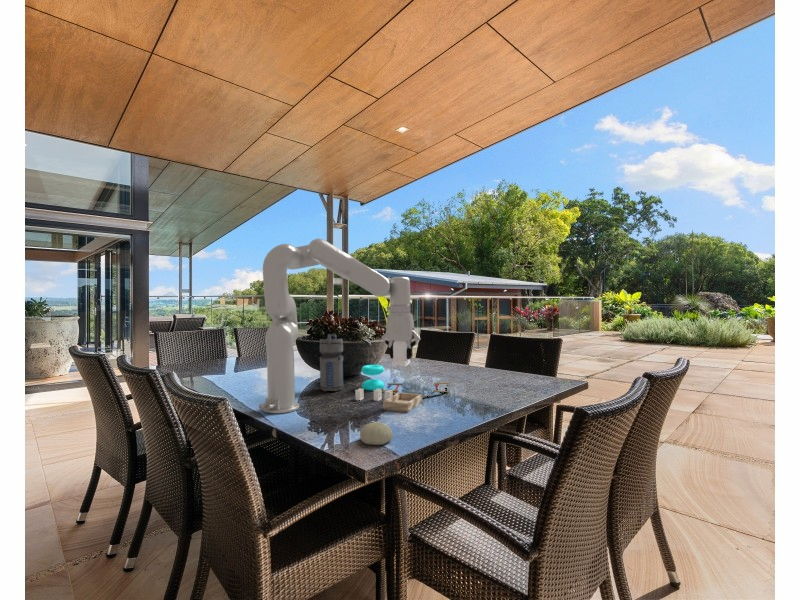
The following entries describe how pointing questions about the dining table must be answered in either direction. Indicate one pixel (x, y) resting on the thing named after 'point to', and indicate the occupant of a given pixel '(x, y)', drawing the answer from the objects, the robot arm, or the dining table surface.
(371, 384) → the donuts
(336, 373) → the beverage bottle
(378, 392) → the cable clips
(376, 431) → the sea urchin shell
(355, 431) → the dining table surface
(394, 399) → the tan shallow tray
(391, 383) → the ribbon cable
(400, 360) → the cable organizer
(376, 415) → the dining table surface
